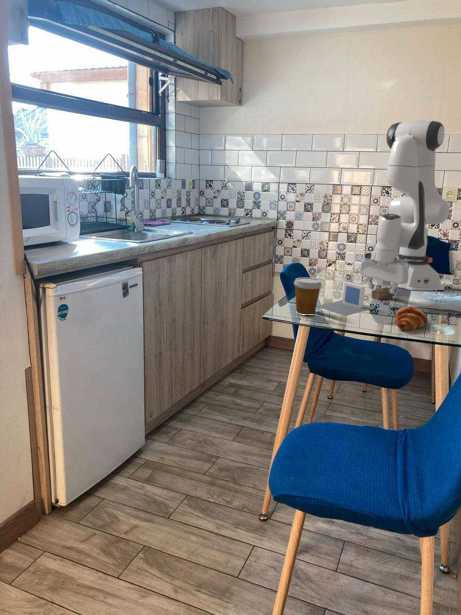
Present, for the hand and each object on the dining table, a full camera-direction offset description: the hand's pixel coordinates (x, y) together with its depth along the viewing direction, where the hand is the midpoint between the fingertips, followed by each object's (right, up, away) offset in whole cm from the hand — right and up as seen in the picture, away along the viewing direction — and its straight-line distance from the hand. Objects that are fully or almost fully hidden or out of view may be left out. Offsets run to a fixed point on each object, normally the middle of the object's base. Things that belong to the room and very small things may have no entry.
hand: (381, 291), depth 202 cm
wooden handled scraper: (-2, -4, -1) cm, 5 cm away
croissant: (+1, -13, -31) cm, 34 cm away
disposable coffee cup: (-34, -9, -23) cm, 42 cm away
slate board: (-18, -7, -16) cm, 25 cm away
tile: (-15, -6, -13) cm, 21 cm away
